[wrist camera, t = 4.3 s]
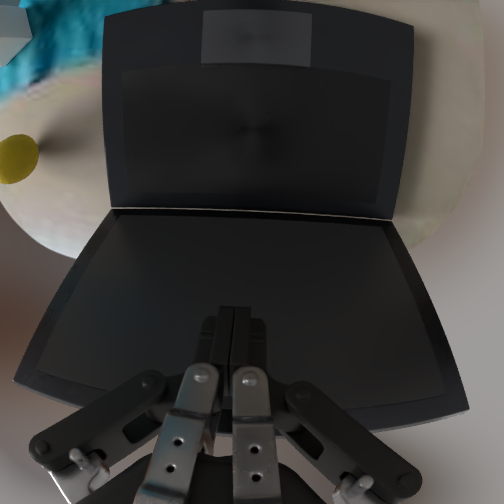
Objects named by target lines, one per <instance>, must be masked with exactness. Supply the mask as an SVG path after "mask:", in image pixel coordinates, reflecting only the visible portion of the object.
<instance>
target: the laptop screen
mask: <svg viewBox="0 0 504 504" xmlns="http://www.w3.org/2000/svg"><path fill="white" fill-rule="evenodd" d="M220 305H221V306H235V311H236V306H239V307H251V318H262V319H263V321H264V323H265V325H266V338H267V342H266V343H267V372H268V374H269V375H270V376H271V377H272V378H273V379H274V380H276V381H278V382H280V383H284V384H287V385H290V384H292V383H294V382H297V381H306V382H310V383H312V384H314V385H315V386H316V387H317V388H318V389H320V390H321V391H322V392H323V393H324V394H325V395H327V396H328V397H329V398H330V399H331V400H332V401H333V402H335V403H336V404H337V405H338V406H339V407H340V408H342V409H343V410H344V411H345V412H346V413H348V414H349V415H350V416H351V417H352V418H354V419H355V420H356V421H357V422H358V423H360V424H361V425H362V426H363V427H364V428H366V429H367V430H368V431H369V432H371V433H376V432H382V431H388V430H394V429H400V428H406V427H411V426H416V425H420V424H425V423H430V422H434V421H438V420H442V419H446V418H449V417H453V416H457V415H460V414H464V413H465V412H466V411H467V410H469V404H468V401H467V397H466V394H465V390H464V387H463V384H462V380H461V377H460V374H459V371H458V368H457V365H456V363H455V359H454V356H453V354H452V351H451V348H450V346H449V343H448V340H447V337H446V335H445V332H444V330H443V327H442V325H441V322H440V320H439V318H438V315H437V313H436V310H435V308H434V305H433V303H432V301H431V299H430V296H429V294H428V292H427V290H426V288H425V285H424V283H423V281H422V279H421V277H420V275H419V273H418V271H417V268H416V266H415V264H414V263H413V261H412V258H411V256H410V254H409V253H408V251H407V249H406V247H405V245H404V243H403V241H402V239H401V237H400V235H399V234H398V232H397V230H396V228H395V226H394V225H393V223H392V221H384V220H372V219H360V218H348V217H334V216H320V215H305V214H288V213H269V212H248V211H222V210H188V209H111V210H110V212H109V213H108V214H107V216H106V217H105V218H104V220H103V221H102V223H101V224H100V225H99V227H98V228H97V230H96V231H95V233H94V234H93V235H92V237H91V238H90V240H89V241H88V243H87V244H86V246H85V247H84V249H83V250H82V252H81V253H80V255H79V256H78V258H77V259H76V261H75V263H74V264H73V266H72V267H71V269H70V271H69V272H68V274H67V275H66V277H65V279H64V280H63V282H62V284H61V285H60V287H59V289H58V291H57V292H56V294H55V296H54V297H53V299H52V301H51V303H50V305H49V306H48V308H47V310H46V312H45V314H44V316H43V318H42V320H41V322H40V323H39V325H38V327H37V329H36V331H35V333H34V335H33V337H32V339H31V341H30V343H29V345H28V347H27V349H26V352H25V354H24V356H23V358H22V360H21V362H20V365H19V367H18V370H17V372H16V374H15V377H14V379H13V382H14V383H16V384H17V385H18V386H20V387H22V388H24V389H26V390H29V391H31V392H34V393H36V394H39V395H41V396H44V397H47V398H49V399H52V400H55V401H57V402H61V403H63V404H66V405H69V406H72V407H75V408H79V409H81V408H83V407H85V406H86V405H88V404H90V403H91V402H93V401H95V400H96V399H98V398H100V397H101V396H103V395H105V394H106V393H108V392H109V391H111V390H113V389H114V388H116V387H118V386H119V385H121V384H122V383H124V382H126V381H127V380H129V379H130V378H132V377H134V376H135V375H137V374H138V373H140V372H142V371H144V370H157V371H159V372H161V373H162V374H163V375H164V376H165V377H167V376H174V375H179V374H182V373H184V372H186V370H187V369H188V367H190V366H191V365H192V363H193V359H194V354H195V350H196V346H197V341H198V337H199V333H200V329H201V325H202V322H203V321H204V320H205V318H206V317H207V316H208V315H210V316H218V311H219V306H220ZM221 409H222V410H221V415H220V420H219V424H218V429H217V434H216V436H223V437H233V427H232V421H233V396H230V389H229V396H223V404H222V408H221ZM275 438H276V439H286V438H285V437H284V436H283V435H282V434H281V433H280V432H279V429H276V428H275Z"/></svg>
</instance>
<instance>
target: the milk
mask: <svg viewBox="0 0 504 504" xmlns="http://www.w3.org/2000/svg"><path fill="white" fill-rule="evenodd" d="M32 38H33V37H32V33H31V30H30V26H29V22H28V18H27V13H26V9H25V8H21V7H14V6H7V5H0V67H3V66H6V65H7V64H8V63H9V62H10V61H11V59H12V58H13V57H14V56H15V55H16V54H17V53H18V52H19V51H20V50H21V49H22V48H23V47H24V46H25V45H26V44H27V43H28V42H29V41H30V40H32Z"/></svg>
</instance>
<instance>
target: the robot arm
mask: <svg viewBox="0 0 504 504" xmlns="http://www.w3.org/2000/svg"><path fill="white" fill-rule="evenodd" d="M266 342H267V338H266V325H265V323H264V321H263V319H262V318H251V307H239V306H236V311H235V306H221V305H220V306H219V311H218V316H210V315H208V316H207V317H206V318H205V320H204V321H203V322H202V325H201V329H200V333H199V337H198V341H197V346H196V350H195V354H194V359H193V363H192V365H191V366H190V367H188V369H187V370H186V372H184V373H182V374H179V375H174V376H167V377H165V376H164V375H163V374H162V373H161V372H159V371H157V370H144V371H142V372H140V373H138V374H137V375H135V376H134V377H132V378H130V379H129V380H127V381H126V382H124V383H122V384H121V385H119V386H118V387H116V388H114V389H113V390H111V391H109V392H108V393H106V394H105V395H103V396H101V397H100V398H98V399H96V400H95V401H93V402H91V403H90V404H88V405H86V406H85V407H83V408H81V409H80V410H78V411H76V412H75V413H73V414H71V415H70V416H68V417H67V418H64V419H63V420H61V421H59V422H58V423H56V424H54V425H52V426H51V427H49V428H47V429H46V430H44V431H42V432H40V433H38V434H37V435H35V436H34V437H33V438H32V439H31V441H30V444H29V452H30V455H31V457H32V458H33V459H34V460H35V461H36V462H38V463H39V464H40V465H41V466H42V467H43V468H44V469H46V470H47V471H48V472H49V473H50V474H51V476H52V478H53V480H54V481H55V483H56V485H57V486H58V488H59V489H60V491H61V493H62V494H63V496H64V497H65V499H66V500H67V502H68V503H69V504H326V503H325V502H324V501H323V500H322V499H321V498H320V497H319V496H318V495H317V494H316V493H315V492H314V491H313V490H312V489H311V488H310V487H309V486H308V484H307V483H306V482H305V481H304V480H303V479H302V478H301V477H300V476H299V475H298V474H297V473H296V472H295V471H293V470H292V469H291V468H289V467H287V466H286V465H284V464H281V463H279V462H278V458H277V448H276V438H275V428H276V429H279V432H280V433H281V434H282V435H283V436H284V437H285V438H286V439H287V440H288V441H289V442H290V443H291V444H292V445H293V446H294V447H295V448H296V449H297V450H298V451H299V452H300V453H301V454H302V455H303V456H304V457H305V458H306V459H307V460H308V461H309V462H310V463H311V464H312V465H313V466H314V467H315V468H317V469H318V470H319V471H320V472H321V473H322V474H323V475H324V476H325V477H326V478H327V479H328V480H330V481H331V482H332V483H333V484H334V485H335V486H336V487H335V489H334V491H333V495H332V496H333V501H334V503H335V504H399V503H401V502H403V501H405V500H406V499H408V498H410V497H412V496H413V495H415V494H416V493H417V492H418V491H419V490H420V488H421V485H422V476H421V473H420V472H419V470H417V469H416V468H415V467H414V466H413V465H411V464H410V463H408V462H407V461H406V460H405V459H403V458H402V457H401V456H399V455H398V454H397V453H396V452H394V451H393V450H392V449H391V448H389V447H388V446H387V445H385V444H384V443H383V442H382V441H380V440H379V439H378V438H377V437H375V436H374V435H373V434H372V433H371V432H369V431H368V430H367V429H366V428H364V427H363V426H362V425H361V424H360V423H358V422H357V421H356V420H355V419H354V418H352V417H351V416H350V415H349V414H348V413H346V412H345V411H344V410H343V409H342V408H340V407H339V406H338V405H337V404H336V403H335V402H333V401H332V400H331V399H330V398H329V397H328V396H327V395H325V394H324V393H323V392H322V391H321V390H320V389H318V388H317V387H316V386H315V385H314V384H312V383H310V382H306V381H297V382H294V383H292V384H290V385H287V384H284V383H280V382H278V381H276V380H274V379H273V378H272V377H271V376H270V375H269V374H268V372H267V343H266ZM229 389H230V396H233V421H232V427H233V455H231V456H223V457H214V456H213V455H214V443H215V438H216V434H217V429H218V424H219V420H220V415H221V410H222V409H221V408H222V404H223V396H229ZM158 434H159V436H158V439H157V442H156V445H155V448H154V451H153V453H151V454H148V455H146V456H144V457H142V458H141V459H139V460H138V461H136V462H135V463H134V464H132V465H131V466H130V467H128V468H127V469H125V470H124V471H123V472H121V473H120V474H118V475H117V476H116V477H114V478H113V479H111V480H110V481H108V482H107V483H105V482H106V481H107V480H108V478H109V475H110V470H109V467H111V466H112V465H114V464H116V463H117V462H119V461H120V460H122V459H123V458H125V457H126V456H127V455H129V454H131V453H132V452H134V451H135V450H137V449H138V448H140V447H141V446H143V445H144V444H145V443H147V442H148V441H150V440H151V439H152V438H154V437H155V436H157V435H158ZM104 483H105V484H104ZM103 484H104V485H103Z"/></svg>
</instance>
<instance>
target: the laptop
mask: <svg viewBox="0 0 504 504" xmlns="http://www.w3.org/2000/svg"><path fill="white" fill-rule="evenodd" d="M413 55H414V26H411V25H408V24H405V23H402V22H399V21H395V20H392V19H389V18H385V17H381V16H377V15H373V14H369V13H365V12H361V11H356V10H351V9H346V8H341V7H335V6H329V5H323V4H316V3H308V2H299V1H288V0H198V1H187V2H178V3H171V4H163V5H157V6H151V7H145V8H140V9H135V10H130V11H126V12H121V13H117V14H113V15H109V16H105V20H104V33H103V51H102V112H103V132H104V146H105V158H106V168H107V177H108V186H109V193H110V201H111V207H155V208H205V209H235V210H258V211H278V212H296V213H312V214H327V215H340V216H353V217H365V218H377V219H388V220H392V217H393V213H394V208H395V204H396V199H397V194H398V189H399V183H400V178H401V172H402V166H403V160H404V154H405V147H406V140H407V132H408V124H409V115H410V105H411V93H412V78H413Z"/></svg>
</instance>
